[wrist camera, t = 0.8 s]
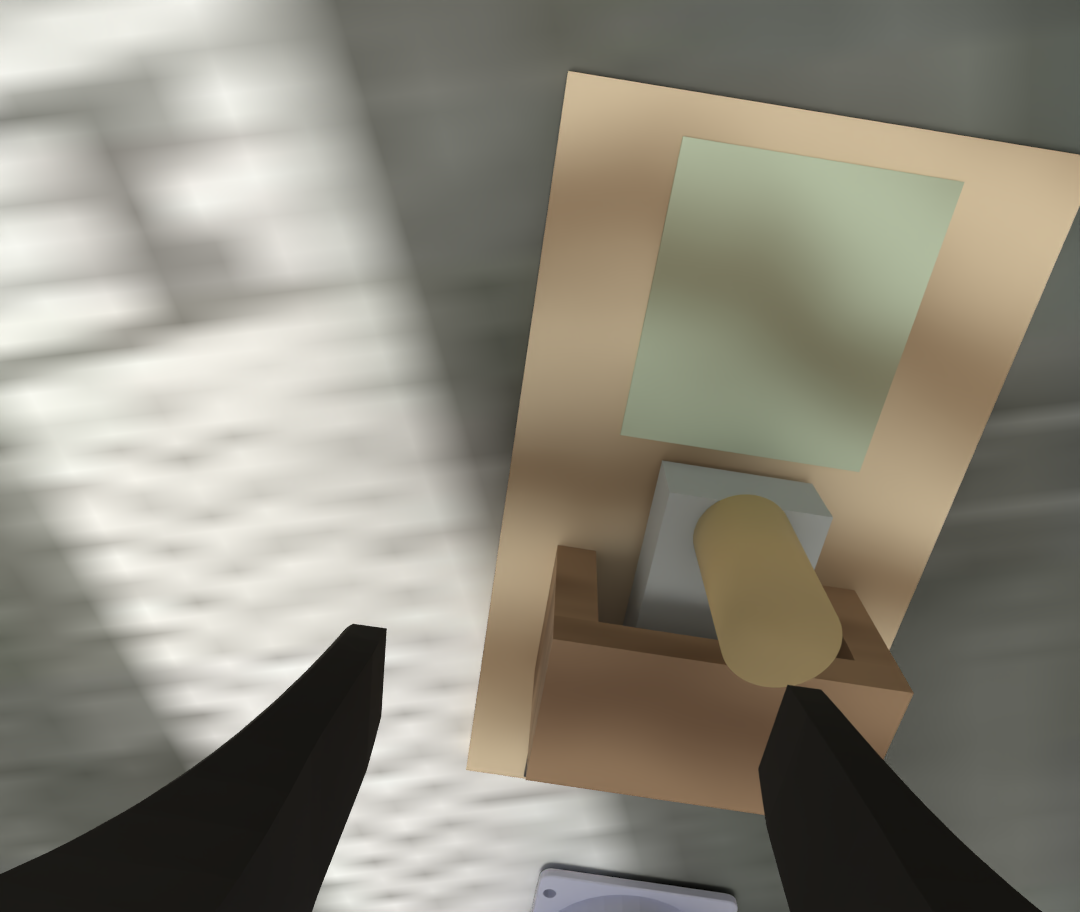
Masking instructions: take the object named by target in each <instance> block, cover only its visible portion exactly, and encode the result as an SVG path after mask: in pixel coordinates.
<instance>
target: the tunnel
mask: <svg viewBox="0 0 1080 912" xmlns="http://www.w3.org/2000/svg"><path fill="white" fill-rule="evenodd" d="M822 586H823V585H822ZM823 588H824V590H825V592H826V594H827V596H828V598H829V600H830V602H831V604H832V606H833V608H834V610H835V612H836V614H837V616H838V618H839V620H840V623H841V626H842V644H841V647H840V650H839V652H838V654H837V656H836V658H835V659H834V661H833V662H832V663H831V664H830V665H829V667H827V668H826V669H825V670H824V671H823V672H822V673H820V674H819V675H817V676H816V677H814V678H812V679H810V680H808V681H806V682H804V683H801V684H797V685H794V686H800V687H807V688H814V689H821V690H822V691H823V692H824V693H825V694H826V695H827V696H828V697H829V698H830V700H831V701H832V702H833V703H834V704H835V705H836V706H837V707H838V709H839V710H840V711H841V712H842V713H843V714H844V716H845V717H846V718H847V719H848V720H849V721H850V722H851V724H852V725H853V726H854V727H855V728H856V729H857V731H858V732H859V733H860V734H861V735H862V736H863V737H864V739H865V740H866V741H867V742H868V743H869V744H870V745H871V747H872V748H873V749H874V750H875V751H876V752H877V753H878V755H879V756H880V757H881V758H882V759H884V757H885V755H886V752H887V750H888V748H889V746H890V744H891V741H892V739H893V737H894V735H895V733H896V731H897V728H898V726H899V724H900V722H901V720H902V718H903V715H904V713H905V711H906V709H907V707H908V704H909V702H910V700H911V698H912V696H913V694H914V693H913V691H912V689H911V688H910V686H909V684H908V682H907V681H906V679H905V677H904V675H903V674H902V672H901V670H900V669H899V667H898V665H897V663H896V662H895V660H894V658H893V656H892V655H891V653H890V651H889V649H888V648H887V646H886V644H885V642H884V641H883V639H882V637H881V635H880V634H879V632H878V630H877V628H876V627H875V625H874V623H873V621H872V620H871V618H870V616H869V614H868V613H867V611H866V609H865V607H864V606H863V604H862V602H861V600H860V599H859V597H858V595H857V593H856V592H855V590H849V589H843V588H836V587H830V586H823ZM785 690H786V687H780V688H772V687H763V686H758V685H755V684H752V683H749V682H747V681H745V680H743V679H741V678H740V677H738V676H737V675H736V674H735V673H733V672H732V670H731V669H730V668H729V667H728V666H727V664H726V663H725V661H724V659H723V656H722V653H721V649H720V645H719V641H718V640H715V639H708V638H701V637H695V636H688V635H682V634H675V633H668V632H662V631H655V630H648V629H642V628H635V627H629V626H622V625H615V624H609V623H602V622H598V597H597V569H596V551H594V550H587V549H581V548H574V547H568V546H561V545H558V546H557V551H556V557H555V562H554V568H553V573H552V578H551V584H550V589H549V595H548V600H547V606H546V611H545V617H544V622H543V627H542V633H541V638H540V644H539V649H538V655H537V660H536V665H535V671H534V684H533V696H532V709H531V721H530V733H529V746H528V758H527V770H526V780H530V781H537V782H544V783H551V784H557V785H564V786H571V787H578V788H585V789H592V790H598V791H605V792H612V793H619V794H626V795H632V796H639V797H646V798H653V799H660V800H666V801H673V802H680V803H687V804H694V805H700V806H707V807H714V808H721V809H728V810H734V811H741V812H748V813H755V814H762V815H765V814H764V807H763V801H762V794H761V787H760V779H759V772H758V768H759V765H760V762H761V759H762V756H763V753H764V750H765V748H766V745H767V742H768V739H769V736H770V733H771V730H772V727H773V725H774V722H775V719H776V716H777V713H778V710H779V707H780V704H781V702H782V699H783V696H784V693H785Z"/></svg>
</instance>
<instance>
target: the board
mask: <svg viewBox="0 0 1080 912" xmlns="http://www.w3.org/2000/svg"><path fill="white" fill-rule="evenodd" d="M1079 206H1080V155H1077V154H1071V153H1065V152H1059V151H1053V150H1047V149H1041V148H1035V147H1029V146H1022V145H1016V144H1010V143H1004V142H998V141H992V140H986V139H980V138H974V137H968V136H961V135H955V134H949V133H943V132H937V131H931V130H925V129H919V128H913V127H907V126H900V125H894V124H888V123H882V122H876V121H870V120H864V119H858V118H852V117H846V116H839V115H833V114H827V113H821V112H815V111H809V110H803V109H797V108H791V107H785V106H778V105H772V104H766V103H760V102H754V101H748V100H742V99H736V98H730V97H724V96H717V95H711V94H705V93H699V92H693V91H687V90H681V89H675V88H669V87H663V86H656V85H650V84H644V83H638V82H632V81H626V80H620V79H614V78H608V77H602V76H595V75H589V74H583V73H577V72H571V71H568V75H567V82H566V89H565V96H564V103H563V110H562V117H561V123H560V130H559V137H558V144H557V151H556V158H555V165H554V171H553V178H552V185H551V192H550V199H549V206H548V213H547V219H546V226H545V233H544V240H543V247H542V254H541V261H540V267H539V274H538V281H537V288H536V295H535V302H534V309H533V315H532V322H531V329H530V336H529V343H528V350H527V357H526V363H525V370H524V377H523V384H522V391H521V398H520V405H519V411H518V418H517V425H516V432H515V439H514V446H513V452H512V459H511V466H510V473H509V480H508V487H507V494H506V500H505V507H504V514H503V521H502V528H501V535H500V542H499V548H498V555H497V562H496V569H495V576H494V583H493V590H492V596H491V603H490V610H489V617H488V624H487V631H486V638H485V644H484V651H483V658H482V665H481V672H480V679H479V686H478V692H477V699H476V706H475V713H474V720H473V727H472V734H471V740H470V747H469V754H468V761H467V768H466V770H470V771H477V772H483V773H490V774H497V775H504V776H511V777H518V778H524V779H526V770H527V758H528V746H529V733H530V721H531V709H532V696H533V684H534V671H535V665H536V660H537V655H538V649H539V644H540V638H541V633H542V627H543V622H544V617H545V611H546V606H547V600H548V595H549V589H550V584H551V578H552V573H553V568H554V562H555V557H556V551H557V546H558V545H561V546H568V547H574V548H581V549H587V550H594V551H596V569H597V597H598V622H602V623H609V624H615V625H622V626H623V622H624V618H625V614H626V610H627V605H628V601H629V597H630V593H631V589H632V584H633V580H634V576H635V572H636V568H637V563H638V559H639V555H640V551H641V547H642V543H643V538H644V534H645V530H646V526H647V522H648V517H649V513H650V509H651V505H652V501H653V496H654V492H655V488H656V484H657V480H658V475H659V471H660V467H661V463H662V460H663V461H669V462H675V463H682V464H688V465H695V466H701V467H708V468H714V469H721V470H727V471H733V472H740V473H746V474H753V475H759V476H766V477H772V478H779V479H785V480H792V481H798V482H804V483H811V484H813V486H814V488H815V489H816V491H817V492H818V494H819V496H820V497H821V499H822V500H823V502H824V504H825V505H826V507H827V509H828V510H829V512H830V513H831V515H832V517H833V519H832V522H831V525H830V527H829V530H828V533H827V536H826V539H825V541H824V544H823V547H822V550H821V553H820V556H819V558H818V561H817V564H816V567H815V570H814V571H815V573H816V575H817V577H818V578H819V580H820V582H821V584H822V585H823V586H830V587H836V588H843V589H849V590H855V592H856V593H857V595H858V597H859V599H860V600H861V602H862V604H863V606H864V607H865V609H866V611H867V613H868V614H869V616H870V618H871V620H872V621H873V623H874V625H875V627H876V628H877V630H878V632H879V634H880V635H881V637H882V639H883V641H884V642H885V644H886V646H887V648H888V649H889V650H890V647H891V645H892V643H893V640H894V638H895V636H896V633H897V631H898V629H899V626H900V624H901V622H902V619H903V617H904V615H905V612H906V610H907V608H908V605H909V603H910V601H911V598H912V596H913V594H914V591H915V589H916V587H917V584H918V582H919V580H920V577H921V575H922V573H923V570H924V568H925V566H926V563H927V561H928V559H929V556H930V554H931V552H932V549H933V547H934V545H935V542H936V540H937V538H938V535H939V533H940V531H941V528H942V526H943V524H944V521H945V519H946V517H947V514H948V512H949V510H950V507H951V505H952V503H953V500H954V498H955V496H956V493H957V491H958V489H959V486H960V484H961V482H962V479H963V477H964V475H965V472H966V470H967V468H968V465H969V463H970V461H971V458H972V456H973V454H974V451H975V449H976V446H977V444H978V442H979V439H980V437H981V435H982V432H983V430H984V428H985V425H986V423H987V421H988V418H989V416H990V414H991V411H992V409H993V407H994V404H995V402H996V400H997V397H998V395H999V393H1000V390H1001V388H1002V386H1003V383H1004V381H1005V379H1006V376H1007V374H1008V372H1009V369H1010V367H1011V365H1012V362H1013V360H1014V358H1015V355H1016V353H1017V351H1018V348H1019V346H1020V344H1021V341H1022V339H1023V337H1024V334H1025V332H1026V330H1027V327H1028V325H1029V323H1030V320H1031V318H1032V316H1033V313H1034V311H1035V309H1036V306H1037V304H1038V302H1039V299H1040V297H1041V295H1042V292H1043V290H1044V288H1045V285H1046V283H1047V281H1048V278H1049V276H1050V274H1051V271H1052V269H1053V267H1054V264H1055V262H1056V260H1057V257H1058V255H1059V253H1060V250H1061V248H1062V246H1063V243H1064V241H1065V239H1066V236H1067V234H1068V232H1069V229H1070V227H1071V225H1072V222H1073V220H1074V218H1075V215H1076V213H1077V211H1078V208H1079Z"/></svg>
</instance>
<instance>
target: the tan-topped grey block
mask: <svg viewBox="0 0 1080 912" xmlns="http://www.w3.org/2000/svg"><path fill="white" fill-rule="evenodd" d="M832 519H833V517H832V515H831V513H830V512H829V510H828V509H827V507H826V505H825V504H824V502H823V500H822V499H821V497H820V496H819V494H818V492H817V491H816V489H815V488H814V486H813V484H811V483H804V482H798V481H792V480H785V479H779V478H772V477H766V476H759V475H753V474H746V473H740V472H733V471H727V470H721V469H714V468H708V467H701V466H695V465H688V464H682V463H675V462H669V461H663V460H662V463H661V467H660V471H659V475H658V480H657V484H656V488H655V492H654V496H653V501H652V505H651V509H650V513H649V517H648V522H647V526H646V530H645V534H644V538H643V543H642V547H641V551H640V555H639V559H638V563H637V568H636V572H635V576H634V580H633V584H632V589H631V593H630V597H629V601H628V605H627V610H626V614H625V618H624V622H623V626H629V627H635V628H642V629H648V630H655V631H662V632H668V633H675V634H682V635H688V636H695V637H701V638H708V639H715V640H718V641H719V645H720V649H721V653H722V656H723V659H724V661H725V663H726V664H727V666H728V667H729V668H730V669H731V670H732V672H733V673H735V674H736V675H737V676H738V677H740V678H741V679H743V680H745V681H747V682H749V683H752V684H755V685H758V686H763V687H772V688H780V687H787V685H793V686H794V685H797V684H801V683H804V682H806V681H808V680H810V679H812V678H814V677H816V676H817V675H819V674H820V673H822V672H823V671H824V670H825V669H826V668H827V667H829V665H830V664H831V663H832V662H833V661H834V659H835V658H836V656H837V654H838V652H839V650H840V647H841V644H842V626H841V623H840V620H839V618H838V616H837V614H836V612H835V610H834V608H833V606H832V604H831V602H830V600H829V598H828V596H827V594H826V592H825V590H824V588H823V586H822V584H821V582H820V580H819V578H818V577H817V575H816V573H815V571H814V570H815V567H816V564H817V561H818V558H819V556H820V553H821V550H822V547H823V544H824V541H825V539H826V536H827V533H828V530H829V527H830V525H831V522H832Z"/></svg>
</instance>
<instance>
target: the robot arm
mask: <svg viewBox="0 0 1080 912" xmlns="http://www.w3.org/2000/svg"><path fill="white" fill-rule="evenodd" d="M386 630H387V629H386V628H379V627H372V626H365V625H357V624H352V625H350V626H349V627H347V628H346V629H345V630H344V631H343V632H342V633H341V635H340V636H339V637H338V638H337V639H336V640H335V641H334V642H333V643H332V645H331V646H330V647H329V648H328V649H327V650H326V651H325V652H324V653H323V654H322V655H321V656H320V657H319V658H318V659H317V661H316V662H315V663H314V664H313V665H312V666H311V667H310V668H309V669H308V670H307V671H306V672H305V673H304V674H303V675H302V676H301V677H300V678H299V679H298V680H296V681H295V682H294V683H293V684H292V685H291V686H290V687H289V688H288V689H287V690H286V691H285V692H284V693H283V694H282V695H281V696H280V697H279V698H278V699H277V700H275V701H274V702H273V703H272V704H271V705H270V706H269V707H268V708H266V709H265V710H264V711H263V712H262V713H261V714H259V715H258V716H257V717H256V718H255V719H254V720H253V721H251V722H250V723H249V724H248V725H247V726H246V727H244V728H243V729H242V730H241V731H240V732H239V733H237V734H236V735H235V736H234V737H232V738H231V739H230V740H229V741H227V742H226V743H225V744H223V745H222V746H221V747H220V748H218V749H217V750H216V751H214V752H213V753H212V754H210V755H209V756H208V757H206V758H205V759H204V760H202V761H201V762H199V763H198V764H197V765H195V766H194V767H193V768H191V769H190V770H188V771H187V772H185V773H184V774H182V775H181V776H179V777H178V778H176V779H175V780H173V781H172V782H170V783H169V784H167V785H166V786H164V787H163V788H161V789H160V790H158V791H157V792H155V793H154V794H152V795H151V796H149V797H148V798H146V799H144V800H143V801H141V802H140V803H138V804H136V805H135V806H133V807H131V808H130V809H128V810H126V811H125V812H123V813H121V814H119V815H117V816H116V817H114V818H112V819H110V820H108V821H107V822H105V823H103V824H101V825H99V826H98V827H96V828H94V829H92V830H90V831H89V832H87V833H85V834H83V835H81V836H79V837H77V838H76V839H74V840H72V841H70V842H68V843H66V844H64V845H62V846H60V847H58V848H56V849H54V850H52V851H50V852H48V853H46V854H43V855H41V856H39V857H37V858H35V859H33V860H30V861H28V862H26V863H24V864H22V865H19V866H17V867H15V868H13V869H11V870H9V871H6V872H4V873H2V874H0V912H312V910H313V907H314V904H315V901H316V898H317V895H318V893H319V890H320V887H321V885H322V882H323V880H324V877H325V875H326V872H327V870H328V867H329V865H330V862H331V860H332V857H333V855H334V852H335V850H336V847H337V845H338V842H339V840H340V837H341V834H342V832H343V829H344V827H345V824H346V822H347V819H348V817H349V814H350V812H351V809H352V807H353V804H354V802H355V799H356V796H357V794H358V791H359V789H360V786H361V784H362V781H363V778H364V776H365V773H366V771H367V767H368V764H369V760H370V756H371V753H372V749H373V745H374V742H375V738H376V734H377V730H378V727H379V723H380V719H381V711H382V695H383V679H384V662H385V646H386ZM758 772H759V779H760V787H761V794H762V801H763V807H764V814H765V820H766V826H767V830H768V833H769V837H770V841H771V845H772V848H773V852H774V856H775V859H776V863H777V867H778V870H779V874H780V877H781V881H782V884H783V888H784V891H785V895H786V898H787V902H788V906H789V909H790V912H1042V911H1041V910H1039V909H1038V908H1037V907H1035V906H1034V905H1033V904H1032V903H1031V902H1029V901H1028V900H1027V899H1026V898H1025V897H1023V896H1022V895H1021V894H1020V893H1019V892H1017V891H1016V890H1015V889H1014V888H1013V887H1011V886H1010V885H1009V884H1008V883H1007V882H1006V881H1005V880H1004V879H1002V878H1001V877H1000V876H999V875H998V874H997V873H996V872H995V871H993V870H992V869H991V868H990V867H989V866H988V865H987V864H986V863H984V862H983V861H982V860H981V859H980V858H979V857H978V856H977V855H975V854H974V853H973V852H972V851H971V850H970V849H969V848H968V847H967V846H966V845H965V844H964V843H963V842H962V841H961V840H959V839H958V838H957V837H956V836H955V835H954V834H953V833H952V832H951V831H950V830H949V829H948V828H947V827H946V826H945V825H944V824H943V823H942V822H941V821H940V820H939V819H938V818H937V817H936V816H935V815H934V814H933V813H932V812H931V811H930V810H929V809H928V808H927V807H926V806H925V805H924V803H923V802H922V801H921V800H920V799H919V798H918V797H917V796H916V795H915V794H914V793H913V792H912V791H911V790H910V789H909V788H908V787H907V785H906V784H905V783H904V782H903V781H902V780H901V779H900V778H899V777H898V776H897V775H896V773H895V772H894V771H893V770H892V769H891V768H890V767H889V766H888V765H887V764H886V762H885V761H884V760H883V759H882V758H881V757H880V756H879V755H878V753H877V752H876V751H875V750H874V749H873V748H872V747H871V745H870V744H869V743H868V742H867V741H866V740H865V739H864V737H863V736H862V735H861V734H860V733H859V732H858V731H857V729H856V728H855V727H854V726H853V725H852V724H851V722H850V721H849V720H848V719H847V718H846V717H845V716H844V714H843V713H842V712H841V711H840V710H839V709H838V707H837V706H836V705H835V704H834V703H833V702H832V701H831V700H830V698H829V697H828V696H827V695H826V694H825V693H824V692H823V691H822V690H821V689H814V688H807V687H800V686H793V685H787V687H786V690H785V693H784V696H783V699H782V702H781V704H780V707H779V710H778V713H777V716H776V719H775V722H774V725H773V727H772V730H771V733H770V736H769V739H768V742H767V745H766V748H765V750H764V753H763V756H762V759H761V762H760V765H759V768H758ZM737 911H738V906H737V901H736V899H735V897H733V896H732V895H730V894H726V893H720V892H713V891H706V890H699V889H692V888H685V887H678V886H671V885H664V884H658V883H651V882H644V881H637V880H630V879H623V878H616V877H609V876H602V875H595V874H589V873H582V872H575V871H568V870H561V869H554V868H549V869H545V870H544V871H542V872H541V873H540V875H539V880H538V884H537V889H536V893H535V898H534V902H533V907H532V912H737Z"/></svg>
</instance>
